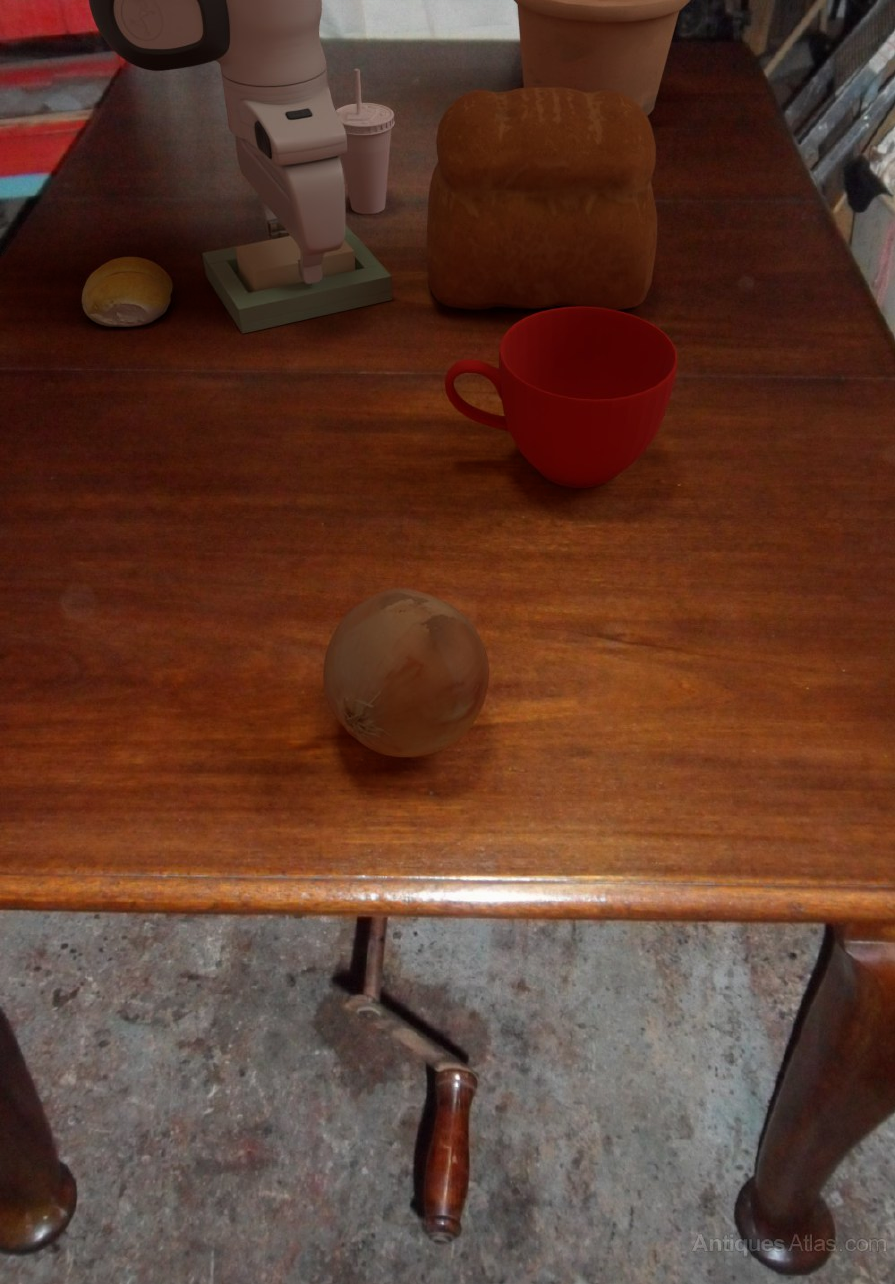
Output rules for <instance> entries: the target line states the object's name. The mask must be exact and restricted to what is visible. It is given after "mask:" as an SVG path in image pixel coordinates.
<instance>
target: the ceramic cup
mask: <svg viewBox="0 0 895 1284" xmlns="http://www.w3.org/2000/svg"><path fill="white" fill-rule="evenodd" d="M678 363H679V362H678V352H677V349H676V346H675V345H674V343H673V341H671V339H670V338H669V337H668V336H667V334H666V333H665V332H664V331H662V329H660V328H658V326H656V325H654V324H652V323H651V322H649V321H647V320H646V319H643V318H641V317H639V316H636V315H634V314H631V313H628V312H623V311H620V310H611V309H605V308H598V307H583V306H582V307H576V306H563V307H558V308H557V307H556V308H551V309H547V310H542V311H539V312H536V313H534V314H531V315H528V316H526V317H524V318H522V319H521V320H519V321H517V322H516V323H514V324H513V325H512V326H511V327H510V328H509V329H507V331H506V332H505V334H504V335H503V337H502V339H501V340H500V345H499V350H498V367H496V366H494V365H492V364H490V363H488V362H485V361H482V360H478V359H469V358H467V359H462V360H459V361H456V362H454V363H453V364H452V365H451V366H450V367H449V368H448V371H447V372H446V374H445V378H444V390H445V394H446V396H447V398H448V400H449V402H450V403H451V405H452V406H453V407H454V408H455V410H457V411H458V412H459V413H460V414H462V415H463V416H464V417H466V418H468V419H469V420H472V421H474V422H477V423H478V424H481V425H484V426H487V427H491V428H494V429H497V430H501V431H505V432H509V435H510V436H511V438H512V440H513V442H514V444H515V447H517V449H518V451H519V452H520V453H521V455H522V456H523V457H524V458H525V459H526V461H528V463H529V464H530V465H531V466H532V467H533V468H535V470H537V471H538V472H539V474H540V475H541V476H542V477H544V478H545V479H546V480H547V481H550V482H552V483H554V484H556V485H559V486H562V487H566V488H571V489H589V488H594V487H597V486H601V485H604V484H606V483H607V482H609V481H611V480H612V479H614V478H615V477H616V476H618V475H620V474H621V473H623V472H624V471H626V470H627V469H628V468H629V467H630V466H632V465H633V464H634V463H635V462H636V461H637V460H639V459H640V457H641V456H642V455H643V454H644V453H645V451H646V450H647V449H648V448H649V446H650V445H651V443H652V442H653V440H655V437H656V435H657V433H658V432H659V429H660V427H661V426H662V423H663V420H664V417H665V414H666V412H667V408H668V406H669V402H670V400H671V396H672V392H673V389H674V386H675V381H676V377H677V374H678V373H677V371H678V365H679V364H678ZM463 374H477V375H481V376H483V377H485V378H486V379H487V380H489V381H490V383H492V384H493V386H494V387H495V389H496V392H497V395H498V397H499V399H500V400H501V406H502V411H503V415H501V414H495V413H493V412H492V413H491V412H489V411H485V410H483V409H481V408H478V407H477V406H474V405H472V404H470V403H468V402H467V401H466V400H465V399H463V398H462V396H461V395H460V394H459V392H458V391H457V390H456V387H455V384H454V383H455V380H456V378H457V377H459V376H460V375H463Z"/></svg>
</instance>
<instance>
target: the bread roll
mask: <svg viewBox="0 0 895 1284" xmlns="http://www.w3.org/2000/svg"><path fill="white" fill-rule="evenodd" d="M173 289H174V285H173V281H172V278H171V276H170V275H169V274H168V272H167V271H166V270H165V269H164V268H163V267H161V266H160V265H158V264H157V263H156V262H154V261H152V260H150V259H146V258H143V257H139V256H123V257H117V258H114V259H111V260H109V261H107V262H105V263H104V264H102V265H100V266H99V267H98V268H97V269H95V270H94V271H93V272H91V274H90V275H89V276H88V278H87V279H86V282H85V284H84V287H83V289H82V295H81V304H82V309H83V311H84V313H85V315H86V316H87V317H88V318H89V319H90V320H91V321H92V322H93V323H96V324H98V325H101V326H104V327H110V328H111V327H112V328H114V327H115V328H116V327H119V328H121V327H122V328H132V327H140V326H144V325H148V324H150V323H151V324H152V323H153V322H154V321H155V320H157V319H159V318H160V317H161V316H162V315H164V314H165V313H166V312H167V310H168V307H169V305H170V304H171V301H172V298H171V295H172V292H173Z"/></svg>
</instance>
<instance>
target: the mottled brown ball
mask: <svg viewBox="0 0 895 1284" xmlns="http://www.w3.org/2000/svg"><path fill="white" fill-rule="evenodd" d="M324 655H325V656H324V662H323V669H322V681H323V689H324V694H325V698H326V701H327V703H328V706H329V708H330V710H331V712H332V714H333V715H334V716H335V718H336V719H337V721H338V722H339V723H340V724H341V726H342V727H343V728H344V729H345V730H346V732H347V733H348V734H349V735H351V736H352V737H353V738H354V739H356V740H357V741H358V742H359V743H360V744H361V745H362V746H365V747H366V748H368V749H370V750H371V751H373V752H375V753H377V754H381V755H384V756H388V757H396V758H419V757H423V756H428V755H433V754H437V753H439V752H442V751H444V750H446V749H448V748H450V747H452V746H453V745H455V744H456V743H458V742H459V741H460V740H461V739H462V738H463V737H464V736H465V735H466V734H467V733H468V732H469V730H471V728H472V726H473V724H474V723H475V721H476V720H477V718H478V716H479V715H480V713H481V711H482V709H483V706H484V703H485V701H486V697H487V692H488V687H489V682H490V662H489V657H488V653H487V649H486V647H485V645H484V643H483V641H482V639H481V636H480V634H479V633H478V631H477V629H476V628H475V626H474V625H473V624H472V623H471V621H470V620H469V619H468V617H467V616H466V615H465V614H464V613H463V612H462V611H460V610H459V609H458V608H456V607H455V606H454V605H452V604H450V603H448V602H447V601H445V600H443V599H440V598H439V597H436V596H434V595H431V594H428V593H425V592H423V591H420V590H416V589H413V588H404V587H403V588H402V587H392V588H391V587H390V588H387V589H385V590H382V591H380V592H378V593H376V594H374V595H372V596H370V597H368V598H367V599H365V600H363V601H362V602H360V603H358V604H357V605H356V606H354V607H353V608H352V609H350V610H349V611H348V612H347V613H346V614H345V616H344V617H343V618H342V619H341V621H340V622H339V623H338V625H337V627H336V628H335V630H334V631H333V634H332V636H331V638H330V641H329V643H328V645H327V649H326V651H325V654H324Z"/></svg>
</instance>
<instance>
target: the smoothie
mask: <svg viewBox="0 0 895 1284" xmlns="http://www.w3.org/2000/svg"><path fill="white" fill-rule="evenodd" d="M353 72H354V91H355V103H351V104H345V105H342V106H341V107H339V108H337V109H335V110H336V112H337V114H338V117H339V119H340V121H341V123H342V124H343V126H344V129H345V131H346V136H347V152H346V154H343V155H341V160H342V166H343V171H344V177H345V180H346V186H347V192H348V197H349V202H350V207H351V210H352V211H353V212H355V213H357V214H361V215H374V214H378V213H381V212H383V211H384V210H385V209H386V202H387V201H386V200H387V188H388V178H389V177H388V176H389V175H388V174H389V166H390V165H389V164H390V149H391V139H392V129H393V128H394V127H395V124H396V121H395V113H394V111H393V110H392V108H390V107H388V106H385V105H383V104H380V103H371V102H362V87H361V86H362V85H361V84H362V83H361V69H360V68H354V70H353Z"/></svg>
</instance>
